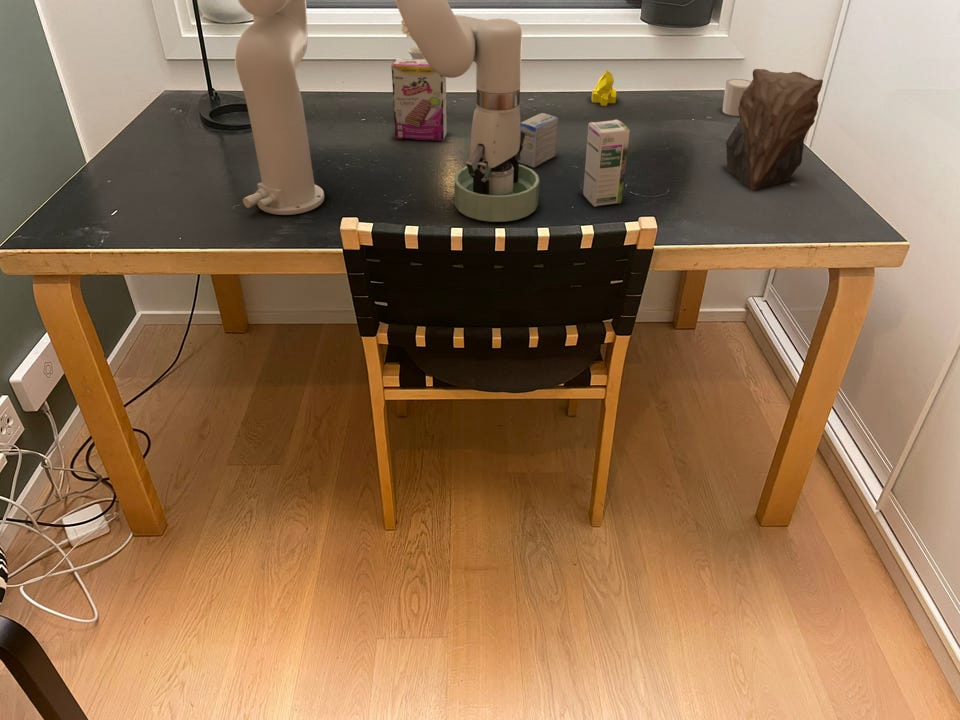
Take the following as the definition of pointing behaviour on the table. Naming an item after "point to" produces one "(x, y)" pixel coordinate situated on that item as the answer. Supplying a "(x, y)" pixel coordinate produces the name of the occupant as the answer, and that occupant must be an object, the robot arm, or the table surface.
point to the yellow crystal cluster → (604, 90)
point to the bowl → (497, 198)
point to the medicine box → (538, 139)
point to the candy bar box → (418, 101)
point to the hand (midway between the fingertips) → (495, 190)
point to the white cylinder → (734, 95)
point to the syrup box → (605, 162)
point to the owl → (772, 127)
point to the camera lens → (500, 179)
